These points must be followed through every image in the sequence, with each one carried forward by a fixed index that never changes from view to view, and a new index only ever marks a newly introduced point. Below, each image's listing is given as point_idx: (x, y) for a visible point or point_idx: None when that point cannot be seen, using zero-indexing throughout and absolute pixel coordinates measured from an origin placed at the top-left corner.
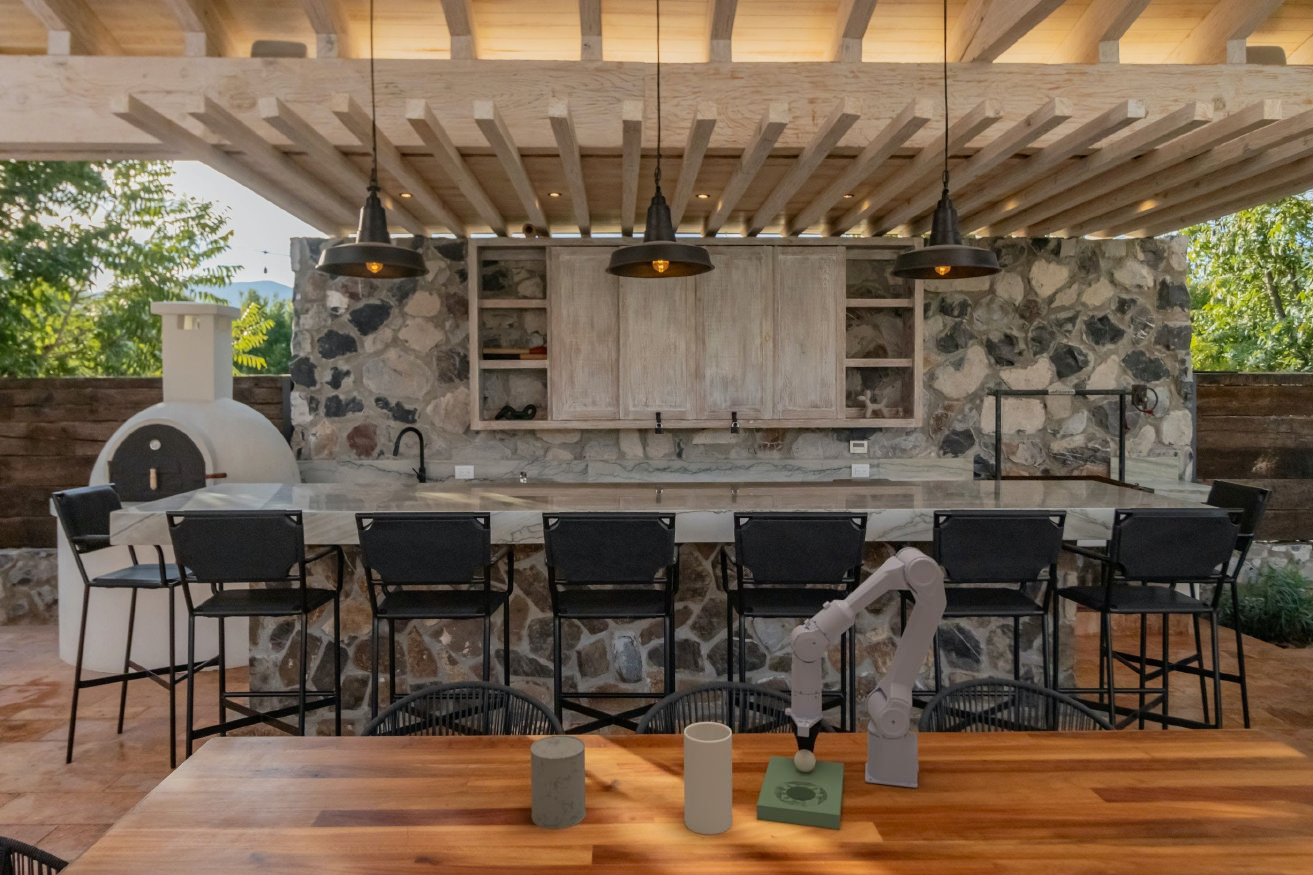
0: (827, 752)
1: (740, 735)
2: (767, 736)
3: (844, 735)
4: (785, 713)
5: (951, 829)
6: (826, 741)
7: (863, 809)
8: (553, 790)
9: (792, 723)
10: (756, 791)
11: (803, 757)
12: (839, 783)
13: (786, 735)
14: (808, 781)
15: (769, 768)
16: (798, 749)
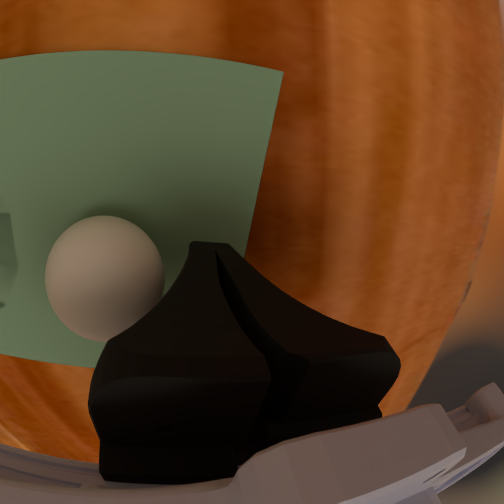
0: (379, 292)
1: (497, 38)
2: (491, 119)
3: (445, 320)
4: (290, 457)
5: (49, 449)
6: (435, 285)
7: (32, 365)
8: None
9: (182, 391)
10: (31, 30)
11: (50, 294)
12: (57, 357)
13: (487, 179)
14: (24, 262)
15: (110, 62)
16: (187, 258)
